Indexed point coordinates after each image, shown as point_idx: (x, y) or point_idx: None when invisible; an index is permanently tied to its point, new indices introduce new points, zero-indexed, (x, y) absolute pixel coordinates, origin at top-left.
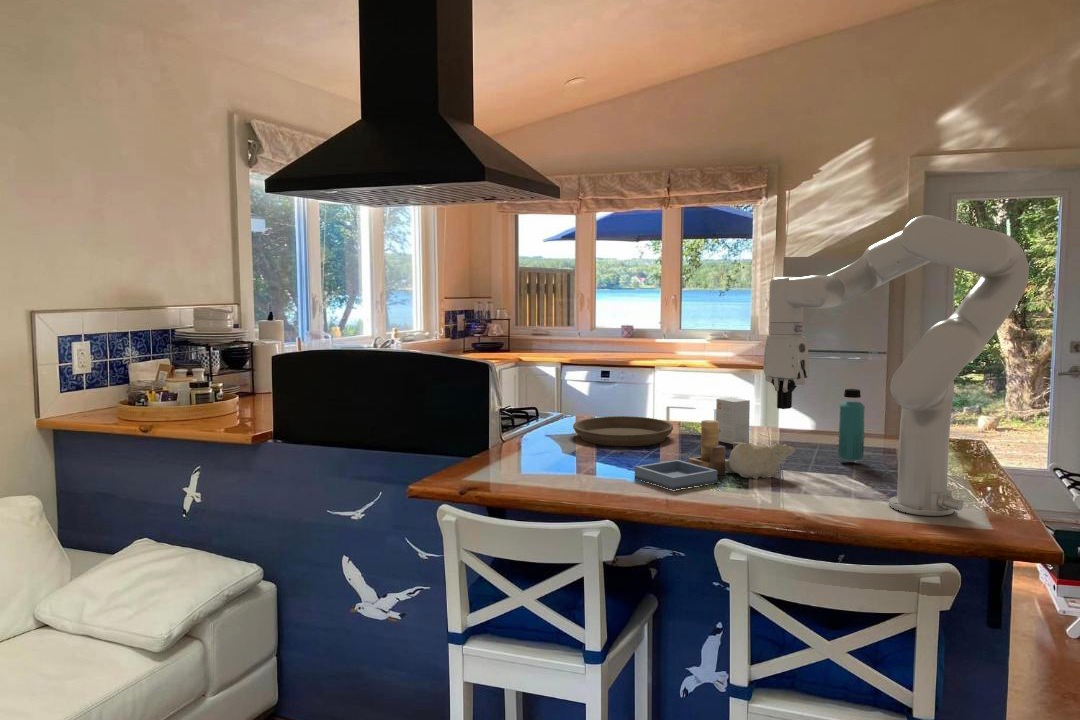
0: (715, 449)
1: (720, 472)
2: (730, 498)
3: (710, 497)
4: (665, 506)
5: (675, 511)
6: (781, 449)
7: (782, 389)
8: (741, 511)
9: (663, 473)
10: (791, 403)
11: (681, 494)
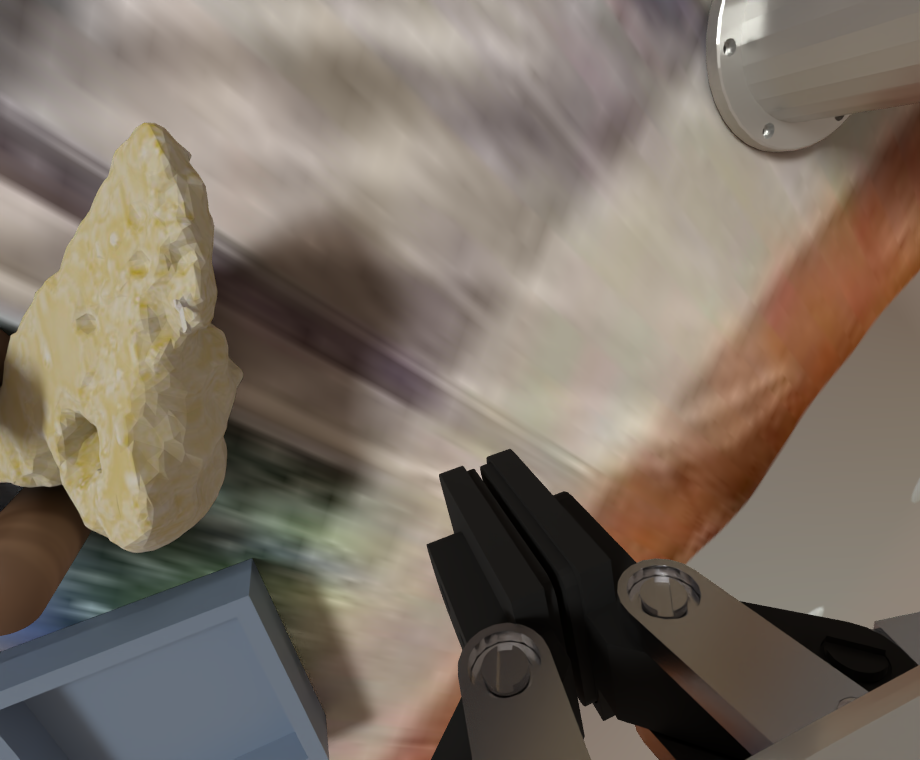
0: (39, 613)
1: None
2: None
3: (426, 627)
4: None
5: None
6: (210, 273)
7: (578, 713)
8: None
9: (88, 738)
10: (568, 495)
11: (365, 697)
